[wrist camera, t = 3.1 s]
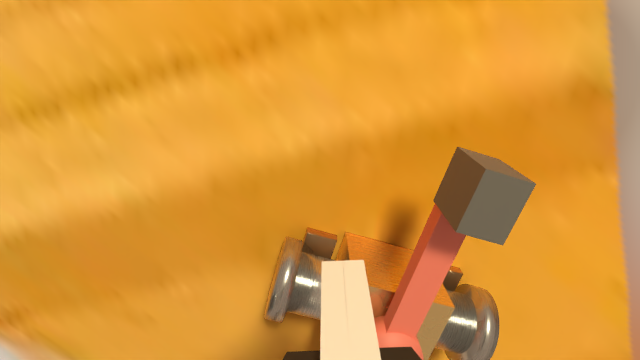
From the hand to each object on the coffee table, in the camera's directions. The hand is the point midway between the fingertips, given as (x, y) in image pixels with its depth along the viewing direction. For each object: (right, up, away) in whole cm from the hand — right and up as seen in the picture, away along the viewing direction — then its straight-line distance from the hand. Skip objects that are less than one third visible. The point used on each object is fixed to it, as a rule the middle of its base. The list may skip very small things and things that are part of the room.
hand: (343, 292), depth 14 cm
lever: (+5, -1, +9) cm, 11 cm away
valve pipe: (+4, -4, +17) cm, 18 cm away
